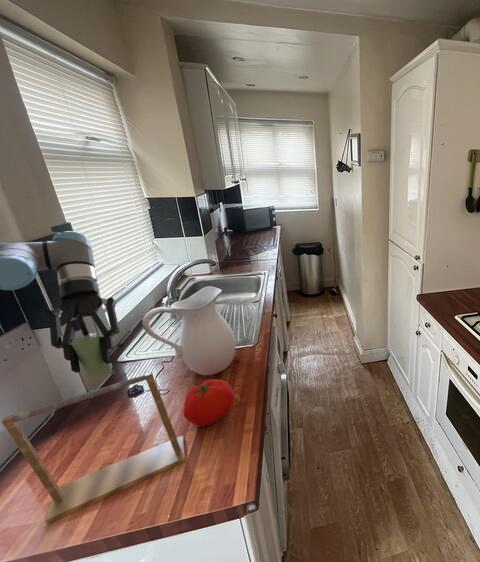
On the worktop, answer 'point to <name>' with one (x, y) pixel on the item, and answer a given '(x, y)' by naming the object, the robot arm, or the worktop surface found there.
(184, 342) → the pitcher
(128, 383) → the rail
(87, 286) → the robot arm
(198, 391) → the tomato
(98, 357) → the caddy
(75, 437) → the worktop surface
